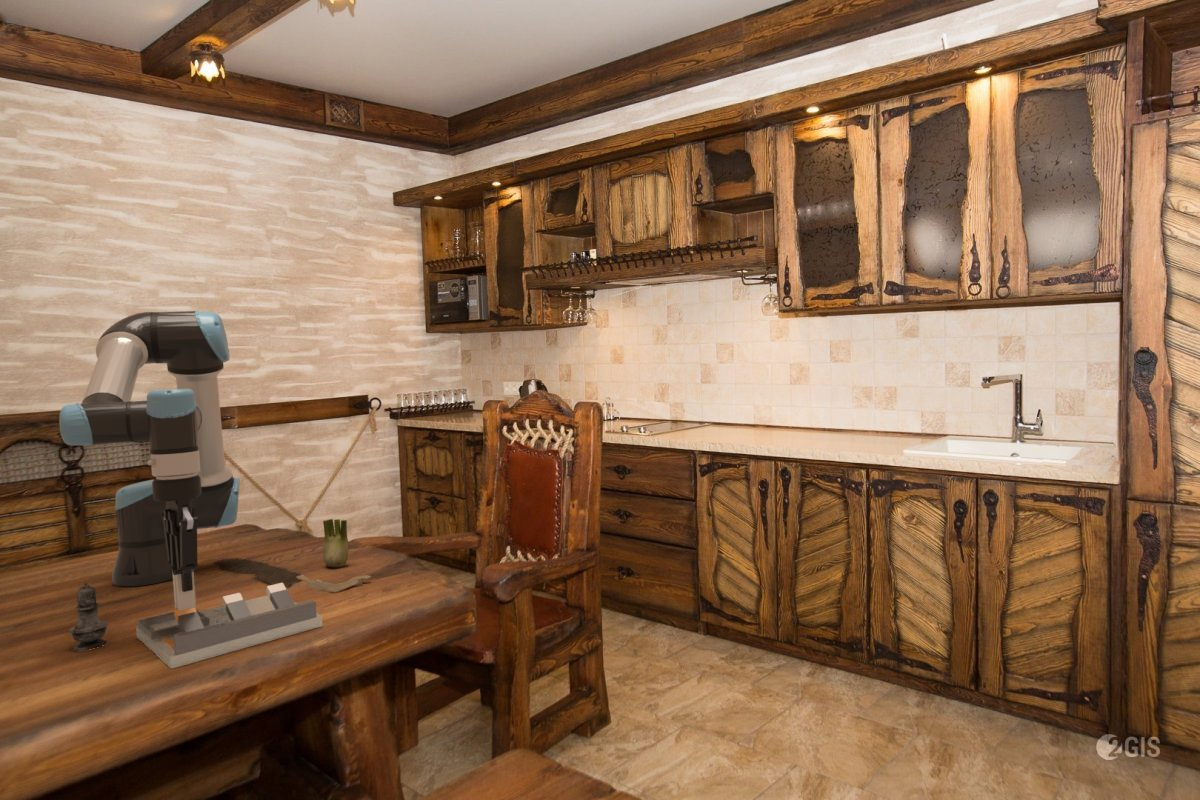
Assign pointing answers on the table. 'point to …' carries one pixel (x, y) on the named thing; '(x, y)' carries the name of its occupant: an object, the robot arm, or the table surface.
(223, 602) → the block
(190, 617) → the block
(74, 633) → the stone stupa figurine
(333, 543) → the fennel bulb
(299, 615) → the panel
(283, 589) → the block
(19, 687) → the table surface
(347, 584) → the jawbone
